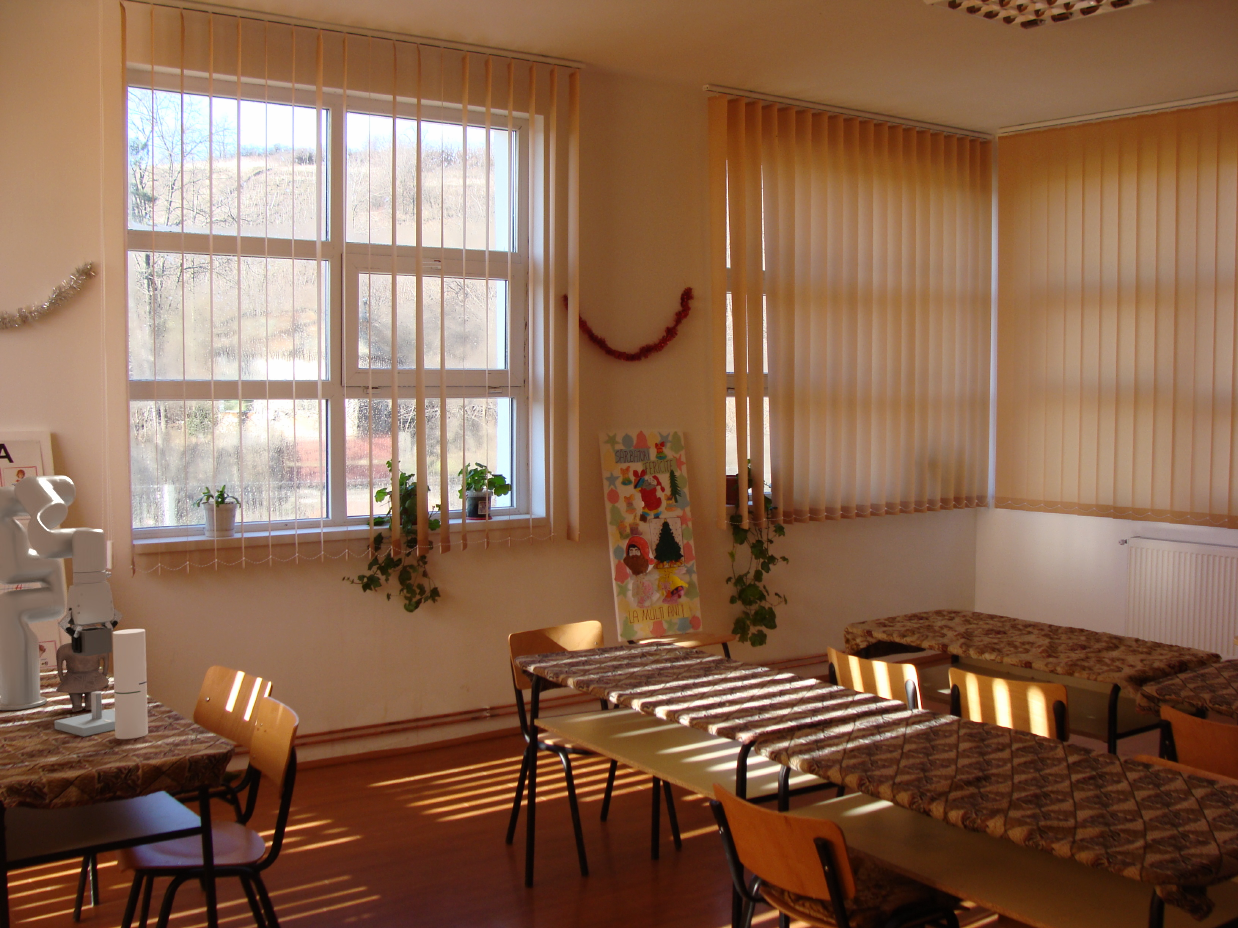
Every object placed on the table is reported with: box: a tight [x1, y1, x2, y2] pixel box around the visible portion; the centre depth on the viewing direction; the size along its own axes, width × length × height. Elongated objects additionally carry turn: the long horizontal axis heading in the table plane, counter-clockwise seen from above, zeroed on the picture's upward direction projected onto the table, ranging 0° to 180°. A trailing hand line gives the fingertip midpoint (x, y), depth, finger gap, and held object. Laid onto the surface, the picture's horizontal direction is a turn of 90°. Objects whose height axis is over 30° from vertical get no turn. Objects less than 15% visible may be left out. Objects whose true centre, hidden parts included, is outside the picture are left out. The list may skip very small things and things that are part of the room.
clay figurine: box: [55, 624, 110, 713], centre depth 286 cm, size 13×10×25 cm
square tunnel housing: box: [72, 626, 113, 656], centre depth 267 cm, size 7×7×6 cm
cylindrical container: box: [112, 628, 149, 740], centre depth 257 cm, size 7×7×25 cm
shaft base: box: [54, 690, 115, 737], centre depth 267 cm, size 14×14×8 cm
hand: (92, 649), depth 267 cm, fingers closed on square tunnel housing, 6 cm apart
